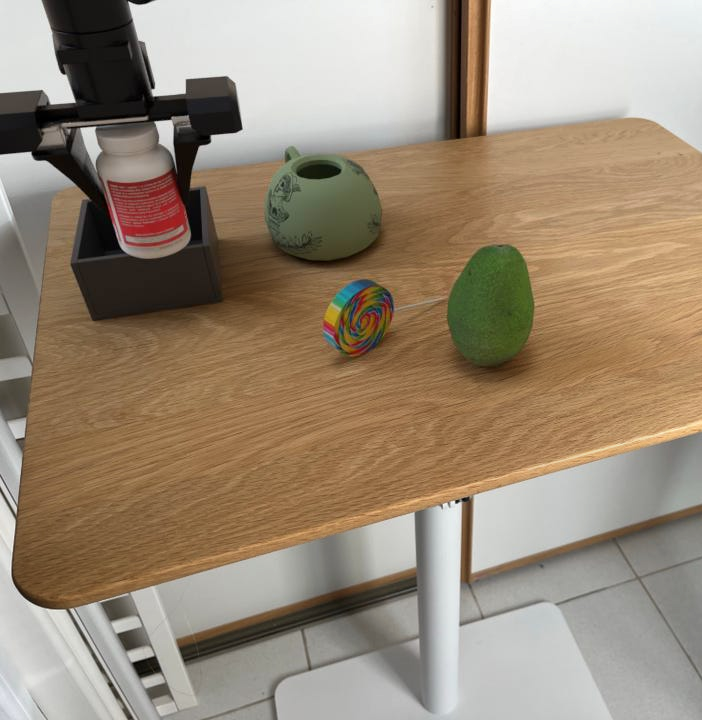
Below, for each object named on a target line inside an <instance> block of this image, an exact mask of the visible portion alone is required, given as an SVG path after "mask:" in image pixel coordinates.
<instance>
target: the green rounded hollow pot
mask: <svg viewBox="0 0 702 720" xmlns="http://www.w3.org/2000/svg"><path fill="white" fill-rule="evenodd" d="M382 217H383V208H382V203H381V200H380V195H379V193H378V191H377V189H376V186H375V185H374V182H373V181H372V180H371V178H370V176H369V175H368V173H367V172H366V170H365V168H364V167H363V166H361V165H360V164H358V163H357V162H356V161H354V160H353V159H351V158H349V157H347V156H344V155H341V154H340V155H339V154H336V153H322V152H321V153H310V154H304V155H301V154H300V152H299V151H298V149H297V148H296V147H295V146H293V145H290V146H288V147H286V148H285V149H284V164H283V165H281V166H280V167H279V168H278V169H277V170H276V171H275V172H274V175H273V177H272V179H271V182H270V184H269V186H268V188H267V192H266V196H265V199H264V221H265V224H266V226H267V229H268V232H269V234H270V236H271V240H272V242H273V244H274V245H275V246H276V247H278V248H279V249H281V250H282V251H283V252H285V253H286V254H287V255H291V256H293V257H297V258H300V259H304V260H307V261H319V262H321V261H322V262H324V261H325V262H330V261H335V260H340V259H346V258H348V257H351V256H353V255H356V254H358V253H360V252H361V251H363V250H365V249H367V248H368V247H369V246H370V245H371V244H372V243H374V241H375V240H376V239H378V237H379V235H380V231H381V230H380V229H381V224H382Z"/></svg>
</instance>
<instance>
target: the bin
mask: <svg viewBox="0 0 702 720" xmlns="http://www.w3.org/2000/svg"><path fill="white" fill-rule="evenodd" d="M185 210H186V214H187V218H188V223H189V227H190V232H191V237H190V241H189V243H188V244H187V245H186V246H185V247H184V248H183V249H181V250H180V251H178V252H176V253H174V254H171V255H168V256H164V257H160V258H152V259H144V258H138V257H134V256H131V255H129V254H127V253H126V252H125V251H123V250H122V248H121V247H120V244H119V242H118V239H117V236H116V232H115V229H114V226H113V222H112V219H111V216H110V212H109V214H104V213H103V212H102V211H101V210H100V209H99V208H98V207H97V206H96V205H95V204H94V203H93V202H92V201H91V200H90V199H89V198H86V199H82V200H81V204H80V209H79V214H78V220H77V225H76V230H75V235H74V239H73V240H74V241H73V246H72V250H71V251H72V252H71V256H70V262H69V264H70V267H71V270H72V273H73V275H74V278H75V280H76V283H77V286H78V287H79V290H80V294H81V296H82V298H83V300H84V303H85V306H86V308H87V311H88V314H89V315H90V318H91V321H98V320H99V321H100V320H105V319H111V318H112V319H113V318H118V317H119V318H120V317H127V316H134V315H139V314H147V313H153V312H161V311H168V310H174V309H175V310H176V309H181V308H188V307H194V306H202V305H208V304H215V303H221V302H223V301H224V298H223V287H222V273H221V262H220V259H221V258H220V248H219V238H218V233H217V228H216V225H215V220H214V217H213V211H212V207H211V202H210V198H209V195H208V191H207V186H196V187H190V192H189V201H188V205H185Z"/></svg>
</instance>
